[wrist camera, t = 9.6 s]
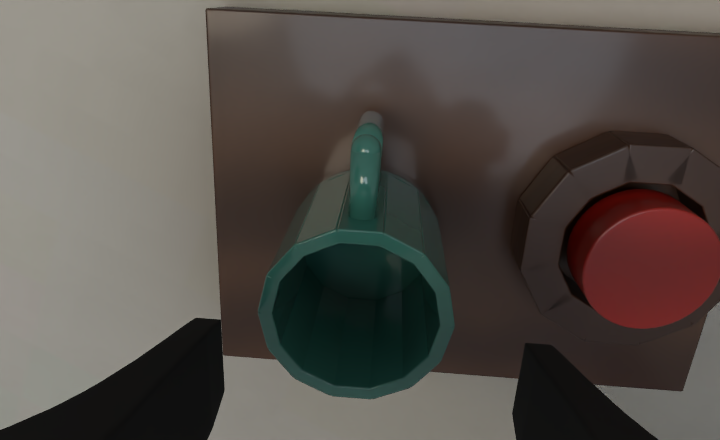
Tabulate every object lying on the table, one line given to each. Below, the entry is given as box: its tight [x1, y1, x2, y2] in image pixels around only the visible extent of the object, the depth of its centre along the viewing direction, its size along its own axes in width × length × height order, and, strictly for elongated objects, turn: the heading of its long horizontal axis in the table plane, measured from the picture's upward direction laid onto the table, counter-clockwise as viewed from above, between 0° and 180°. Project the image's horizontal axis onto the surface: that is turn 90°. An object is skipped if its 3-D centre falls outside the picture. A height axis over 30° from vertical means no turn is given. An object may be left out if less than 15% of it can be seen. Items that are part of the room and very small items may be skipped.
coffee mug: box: [258, 111, 455, 399], centre depth 17 cm, size 7×5×6 cm
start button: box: [567, 189, 720, 329], centre depth 17 cm, size 4×4×2 cm
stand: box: [206, 7, 720, 391], centre depth 20 cm, size 13×18×4 cm
